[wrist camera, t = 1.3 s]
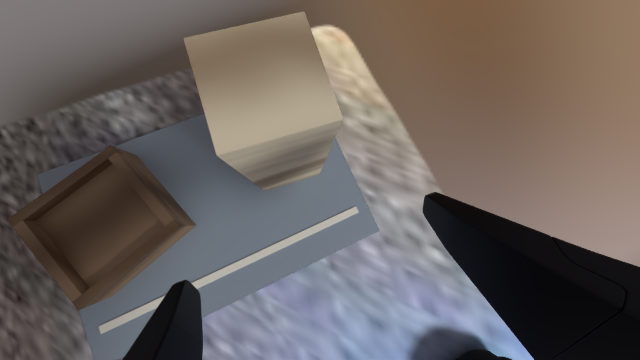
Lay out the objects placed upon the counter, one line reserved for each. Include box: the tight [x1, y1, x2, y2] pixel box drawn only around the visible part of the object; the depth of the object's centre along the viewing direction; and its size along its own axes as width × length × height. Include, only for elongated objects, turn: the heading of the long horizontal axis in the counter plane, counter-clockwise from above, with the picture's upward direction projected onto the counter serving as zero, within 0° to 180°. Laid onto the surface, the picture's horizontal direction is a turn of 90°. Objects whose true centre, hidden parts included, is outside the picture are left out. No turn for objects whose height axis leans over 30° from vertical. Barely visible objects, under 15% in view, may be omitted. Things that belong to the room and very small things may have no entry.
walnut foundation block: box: [7, 145, 197, 310], centre depth 18 cm, size 8×8×3 cm
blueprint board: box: [37, 113, 379, 360], centre depth 20 cm, size 16×24×1 cm, turn 115°
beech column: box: [184, 12, 343, 191], centre depth 15 cm, size 5×5×12 cm
